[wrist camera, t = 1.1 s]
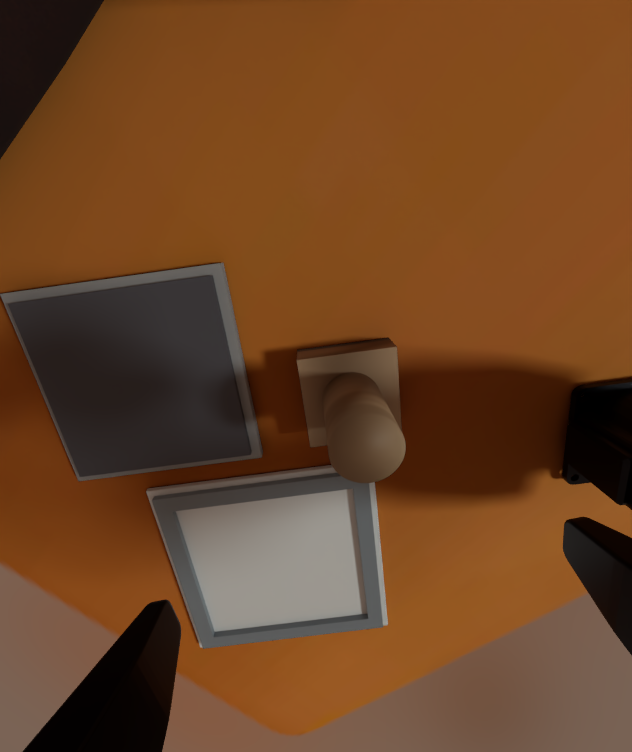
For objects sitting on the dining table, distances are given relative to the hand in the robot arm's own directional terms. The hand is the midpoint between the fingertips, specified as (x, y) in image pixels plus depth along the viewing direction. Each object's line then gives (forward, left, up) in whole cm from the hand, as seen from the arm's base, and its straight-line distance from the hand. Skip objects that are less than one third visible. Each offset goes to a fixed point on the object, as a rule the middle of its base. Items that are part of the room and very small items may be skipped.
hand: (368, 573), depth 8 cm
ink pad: (+10, -1, -13) cm, 16 cm away
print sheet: (+5, +13, -13) cm, 19 cm away
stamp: (-1, +1, -13) cm, 13 cm away
